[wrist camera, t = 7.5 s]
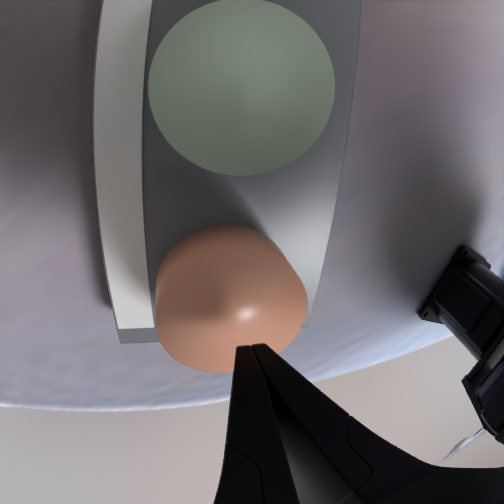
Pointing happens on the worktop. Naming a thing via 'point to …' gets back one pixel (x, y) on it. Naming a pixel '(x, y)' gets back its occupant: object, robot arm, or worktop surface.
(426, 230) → the worktop surface
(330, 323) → the worktop surface
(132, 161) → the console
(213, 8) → the sage button
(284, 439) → the robot arm
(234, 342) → the terracotta button
